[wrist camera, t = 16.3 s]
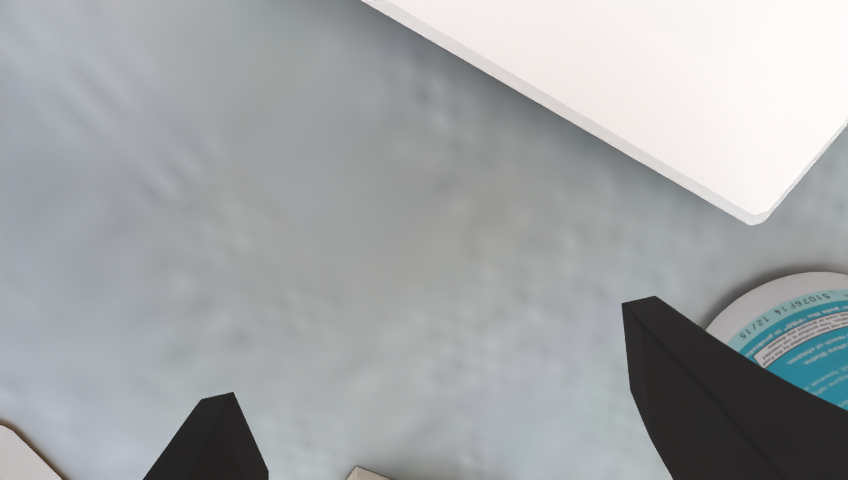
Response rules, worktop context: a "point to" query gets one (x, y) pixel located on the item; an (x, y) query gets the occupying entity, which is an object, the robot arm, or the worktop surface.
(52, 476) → the cup
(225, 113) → the worktop surface
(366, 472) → the beige block
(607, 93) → the plate
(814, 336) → the pill bottle
